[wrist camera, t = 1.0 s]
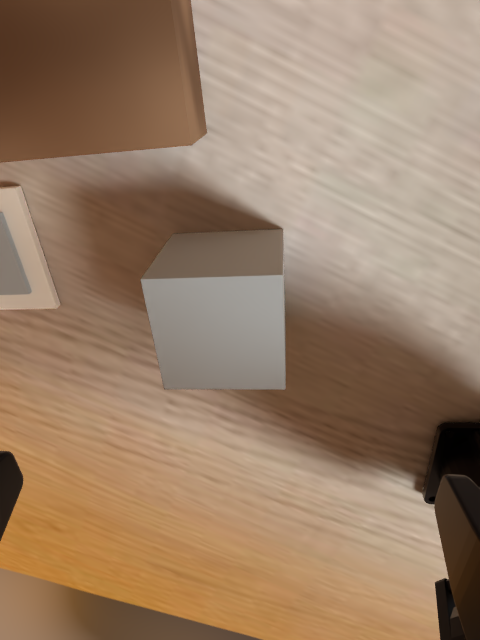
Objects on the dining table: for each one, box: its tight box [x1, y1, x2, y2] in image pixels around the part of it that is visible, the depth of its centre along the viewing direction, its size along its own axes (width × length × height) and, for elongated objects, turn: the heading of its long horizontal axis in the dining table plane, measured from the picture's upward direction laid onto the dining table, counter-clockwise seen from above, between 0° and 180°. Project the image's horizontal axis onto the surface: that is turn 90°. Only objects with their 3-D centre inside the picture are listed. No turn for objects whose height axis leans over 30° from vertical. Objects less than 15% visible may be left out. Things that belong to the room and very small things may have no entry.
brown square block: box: [0, 0, 207, 162], centre depth 14 cm, size 7×7×4 cm
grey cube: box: [140, 229, 286, 390], centre depth 18 cm, size 5×5×5 cm
